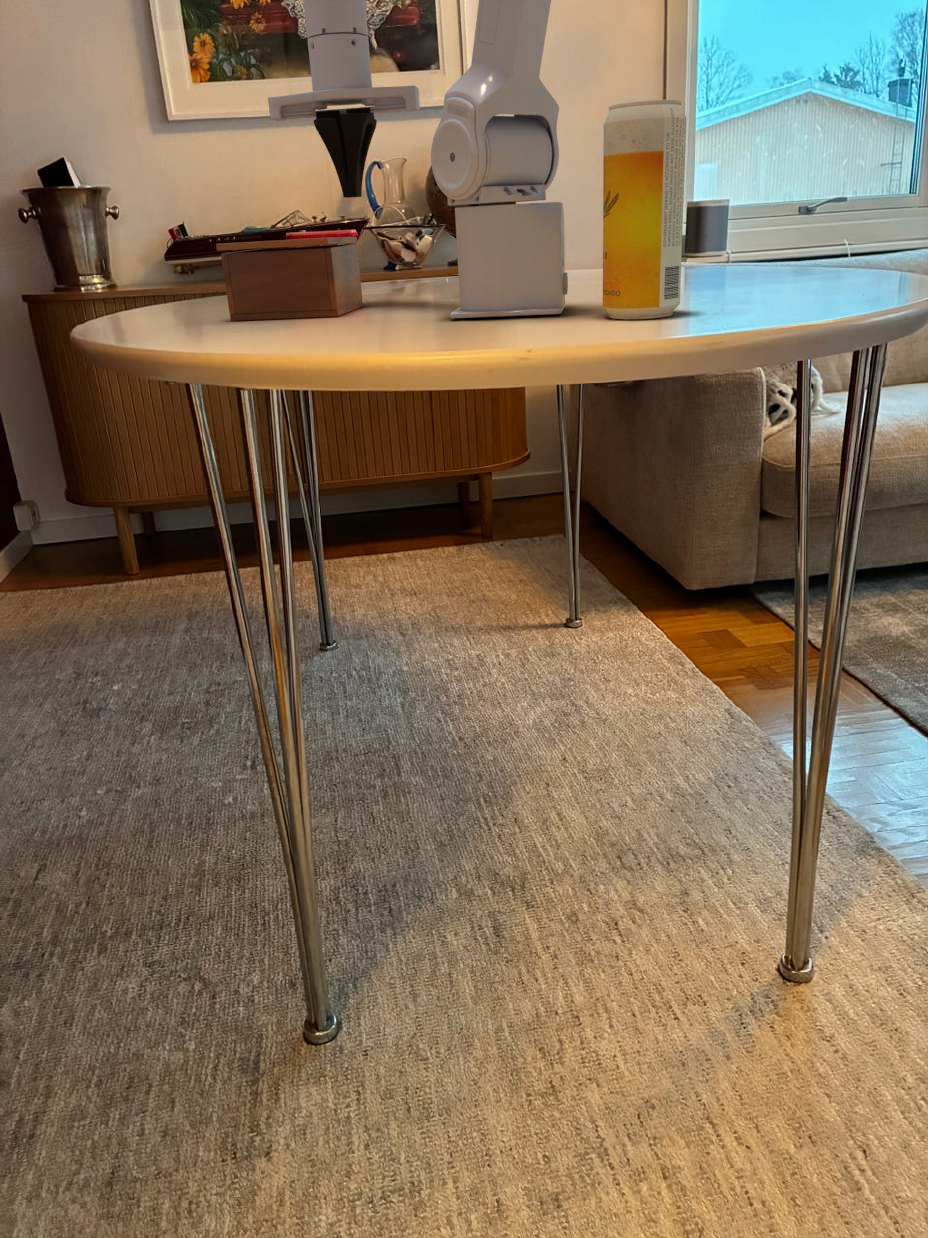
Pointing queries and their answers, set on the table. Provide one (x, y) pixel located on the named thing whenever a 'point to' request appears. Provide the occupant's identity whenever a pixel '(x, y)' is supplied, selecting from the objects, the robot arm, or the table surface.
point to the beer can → (643, 208)
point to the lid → (286, 243)
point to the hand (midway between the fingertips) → (352, 197)
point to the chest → (292, 282)
